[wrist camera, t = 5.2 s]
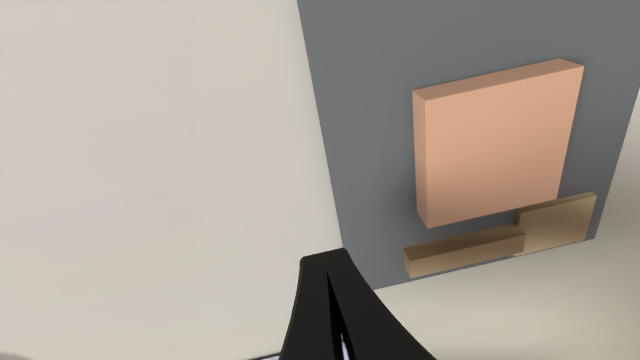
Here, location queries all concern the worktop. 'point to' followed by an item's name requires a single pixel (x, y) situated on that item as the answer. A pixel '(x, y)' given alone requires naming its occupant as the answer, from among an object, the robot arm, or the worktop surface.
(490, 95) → the tile
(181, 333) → the worktop surface
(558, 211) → the tan stepped block
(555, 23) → the mat
